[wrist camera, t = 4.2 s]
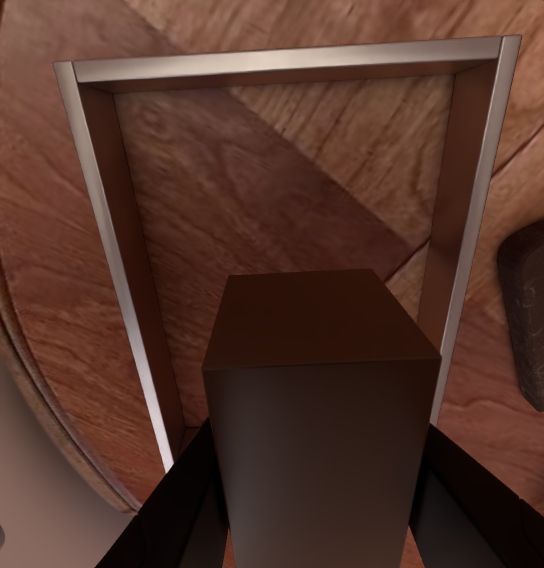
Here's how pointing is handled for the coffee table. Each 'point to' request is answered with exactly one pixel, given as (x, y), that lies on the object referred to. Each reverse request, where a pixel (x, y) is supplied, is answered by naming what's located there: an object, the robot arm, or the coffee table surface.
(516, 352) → the ice cream bar
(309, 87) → the coffee table surface
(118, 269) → the rectangular frame
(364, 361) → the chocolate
